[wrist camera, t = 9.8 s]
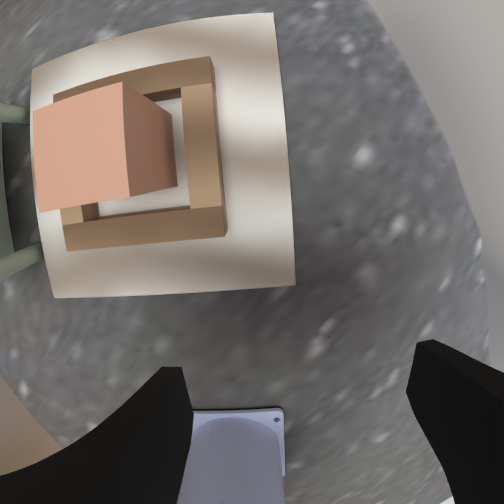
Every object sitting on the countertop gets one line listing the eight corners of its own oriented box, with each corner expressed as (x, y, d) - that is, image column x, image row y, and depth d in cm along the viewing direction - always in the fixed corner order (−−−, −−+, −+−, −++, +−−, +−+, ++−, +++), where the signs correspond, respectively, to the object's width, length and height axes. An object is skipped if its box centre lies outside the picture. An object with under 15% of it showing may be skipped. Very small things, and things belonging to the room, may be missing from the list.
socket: (293, 279, 19) (300, 298, 16) (61, 292, 19) (38, 309, 16) (271, 19, 15) (275, -4, 12) (40, 71, 15) (15, 62, 12)
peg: (177, 186, 16) (129, 197, 10) (112, 195, 16) (39, 212, 10) (171, 114, 15) (122, 81, 9) (106, 127, 15) (32, 111, 9)
